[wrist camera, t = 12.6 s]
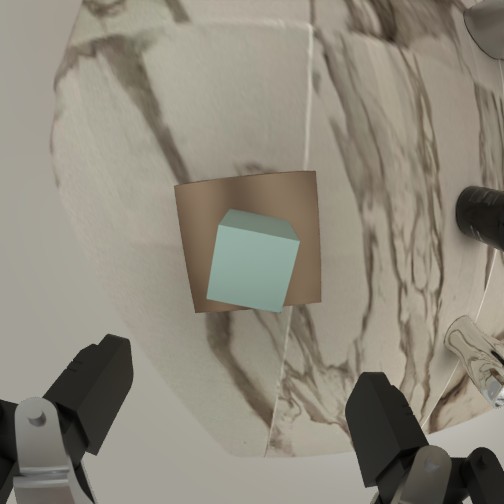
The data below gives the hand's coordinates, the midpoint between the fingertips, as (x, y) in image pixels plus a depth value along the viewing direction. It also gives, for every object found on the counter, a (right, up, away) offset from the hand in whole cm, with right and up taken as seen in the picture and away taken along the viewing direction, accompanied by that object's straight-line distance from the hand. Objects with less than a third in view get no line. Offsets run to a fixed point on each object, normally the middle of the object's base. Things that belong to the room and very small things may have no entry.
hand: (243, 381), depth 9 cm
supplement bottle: (+29, +10, +20) cm, 37 cm away
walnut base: (0, +6, +22) cm, 23 cm away
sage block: (0, +5, +16) cm, 17 cm away
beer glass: (+32, -8, +25) cm, 42 cm away
